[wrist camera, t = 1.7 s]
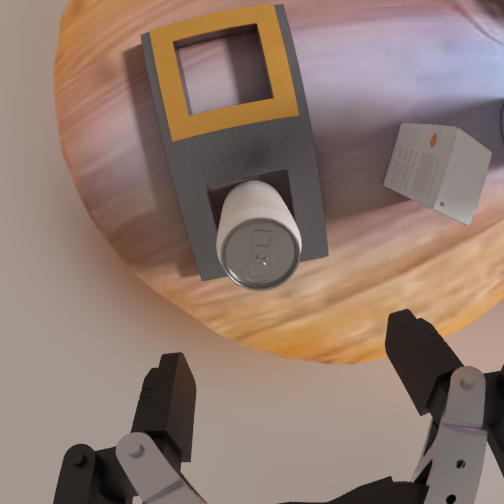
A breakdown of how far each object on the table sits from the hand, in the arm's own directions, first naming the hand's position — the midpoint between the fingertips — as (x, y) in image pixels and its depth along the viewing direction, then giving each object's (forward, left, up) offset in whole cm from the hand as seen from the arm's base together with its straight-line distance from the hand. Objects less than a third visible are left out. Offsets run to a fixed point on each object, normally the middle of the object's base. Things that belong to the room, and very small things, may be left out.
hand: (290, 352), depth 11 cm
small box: (-12, -14, -23) cm, 30 cm away
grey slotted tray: (+5, -4, -23) cm, 24 cm away
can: (0, +1, -23) cm, 23 cm away
